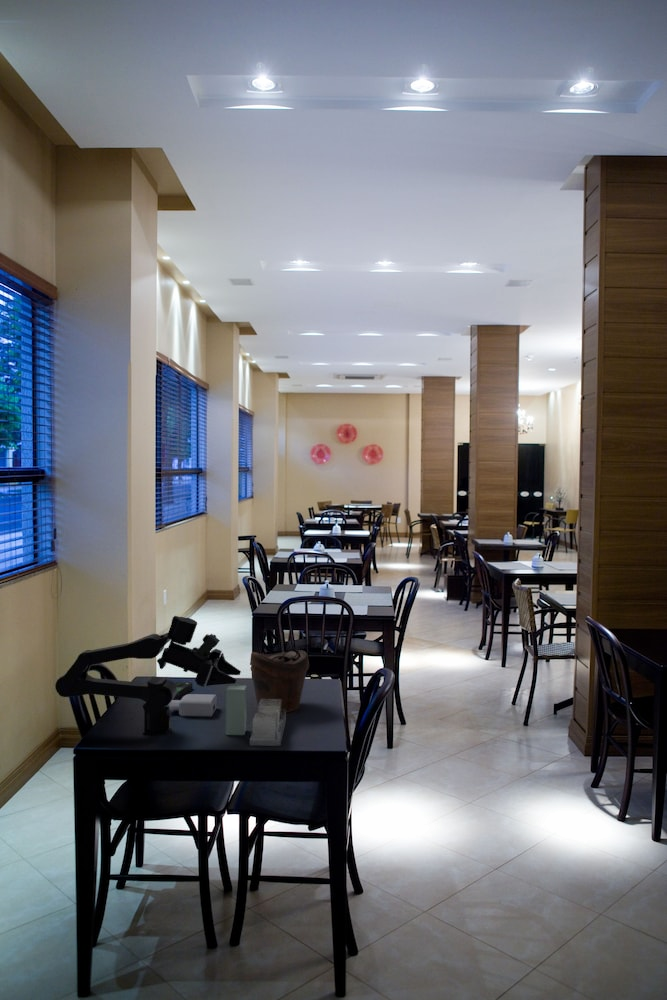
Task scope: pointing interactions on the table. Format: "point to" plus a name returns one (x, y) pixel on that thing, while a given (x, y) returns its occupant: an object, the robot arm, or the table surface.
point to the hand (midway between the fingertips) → (238, 677)
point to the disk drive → (182, 689)
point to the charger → (195, 705)
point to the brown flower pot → (280, 676)
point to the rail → (268, 723)
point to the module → (236, 709)
